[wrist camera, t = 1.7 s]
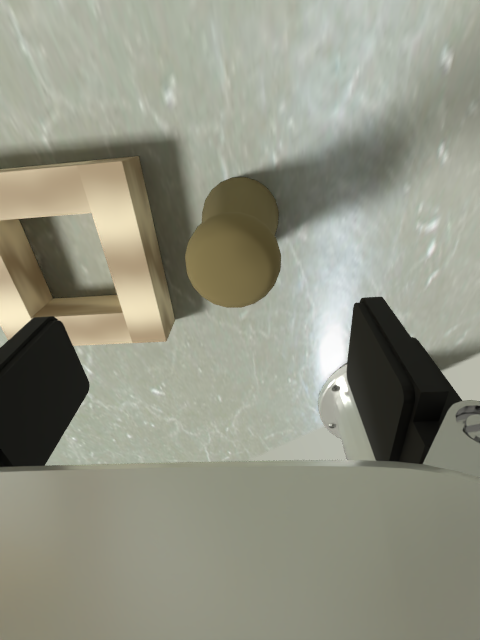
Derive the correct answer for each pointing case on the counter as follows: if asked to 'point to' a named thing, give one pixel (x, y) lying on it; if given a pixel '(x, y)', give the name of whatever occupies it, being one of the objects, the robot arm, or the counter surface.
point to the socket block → (117, 241)
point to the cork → (235, 244)
